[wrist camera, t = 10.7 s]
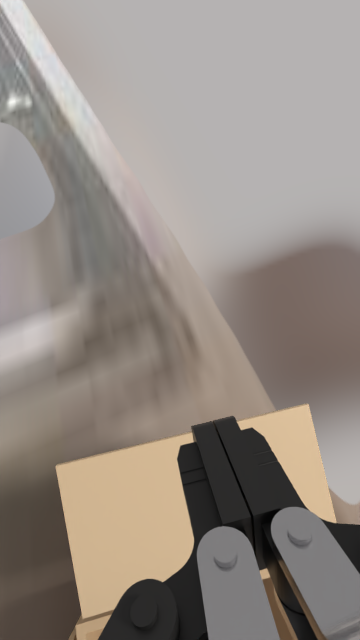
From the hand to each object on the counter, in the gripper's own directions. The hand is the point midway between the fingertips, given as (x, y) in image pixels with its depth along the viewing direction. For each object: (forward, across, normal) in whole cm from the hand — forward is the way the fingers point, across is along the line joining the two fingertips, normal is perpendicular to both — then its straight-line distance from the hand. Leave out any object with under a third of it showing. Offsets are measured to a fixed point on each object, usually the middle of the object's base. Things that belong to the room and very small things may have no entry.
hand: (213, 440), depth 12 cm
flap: (+5, 0, +18) cm, 18 cm away
